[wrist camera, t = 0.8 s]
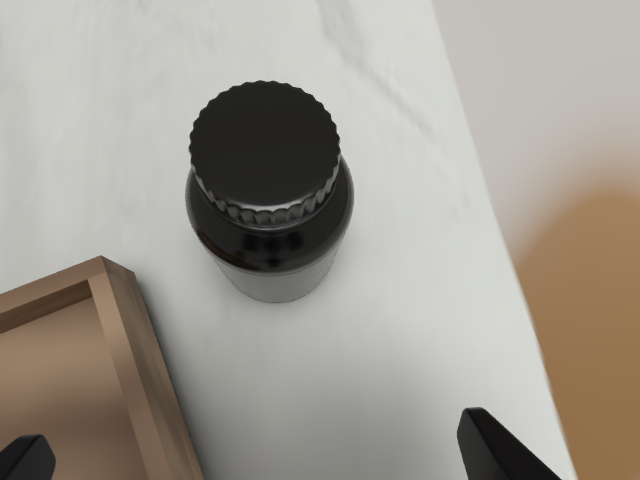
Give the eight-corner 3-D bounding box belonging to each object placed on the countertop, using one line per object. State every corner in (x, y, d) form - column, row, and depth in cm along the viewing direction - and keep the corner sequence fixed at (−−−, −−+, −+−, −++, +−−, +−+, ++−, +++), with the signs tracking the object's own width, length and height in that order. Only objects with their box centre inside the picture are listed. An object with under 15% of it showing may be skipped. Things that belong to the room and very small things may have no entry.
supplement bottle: (339, 300, 23) (385, 245, 11) (221, 308, 22) (143, 258, 11) (329, 192, 25) (360, 52, 13) (220, 197, 24) (155, 54, 13)
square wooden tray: (224, 504, 19) (198, 560, 14) (-45, 646, 17) (-193, 774, 12) (146, 278, 22) (100, 255, 17) (-92, 375, 20) (-228, 382, 15)
